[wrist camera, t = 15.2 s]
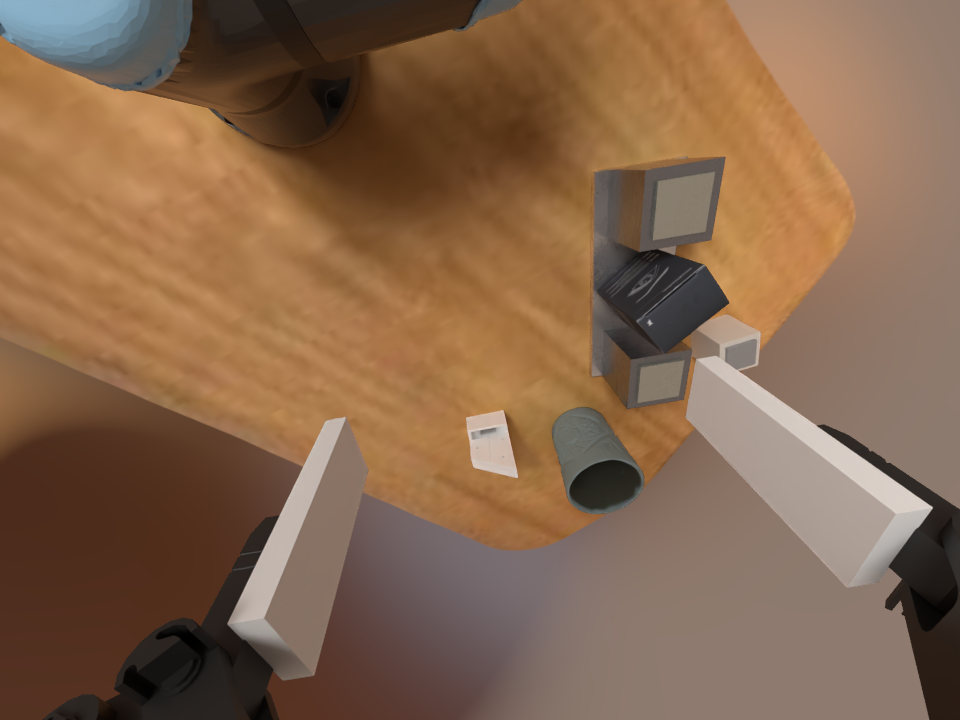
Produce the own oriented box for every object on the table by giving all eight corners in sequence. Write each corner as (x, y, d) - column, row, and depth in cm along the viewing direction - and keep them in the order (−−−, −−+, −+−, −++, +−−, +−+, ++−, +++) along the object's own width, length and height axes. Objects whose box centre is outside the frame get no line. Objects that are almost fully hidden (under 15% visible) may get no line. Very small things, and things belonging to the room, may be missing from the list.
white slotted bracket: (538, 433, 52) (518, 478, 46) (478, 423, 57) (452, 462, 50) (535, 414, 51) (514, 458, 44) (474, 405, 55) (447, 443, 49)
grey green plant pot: (602, 450, 58) (636, 512, 48) (542, 454, 58) (563, 518, 47) (612, 400, 54) (652, 456, 43) (547, 404, 53) (571, 462, 42)
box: (619, 319, 46) (663, 358, 36) (594, 290, 44) (634, 323, 34) (671, 275, 44) (733, 304, 34) (648, 242, 41) (707, 264, 32)
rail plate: (591, 171, 38) (630, 172, 30) (682, 156, 38) (746, 153, 30) (589, 373, 51) (616, 413, 43) (657, 362, 51) (697, 399, 43)
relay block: (690, 325, 48) (722, 346, 43) (726, 314, 48) (763, 333, 42) (691, 355, 51) (721, 378, 45) (725, 344, 50) (760, 366, 45)
